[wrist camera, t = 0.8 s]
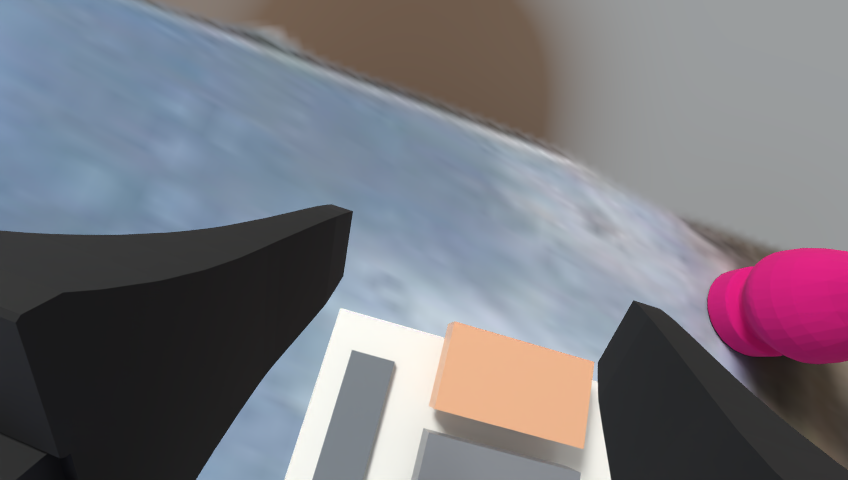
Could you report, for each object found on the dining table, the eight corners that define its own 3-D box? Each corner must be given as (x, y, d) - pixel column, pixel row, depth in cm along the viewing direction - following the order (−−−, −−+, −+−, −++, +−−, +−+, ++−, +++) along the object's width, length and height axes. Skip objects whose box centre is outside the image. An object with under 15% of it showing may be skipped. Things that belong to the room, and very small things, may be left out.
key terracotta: (568, 443, 23) (583, 449, 21) (428, 405, 22) (434, 408, 20) (579, 361, 24) (594, 361, 22) (448, 323, 23) (454, 321, 22)
